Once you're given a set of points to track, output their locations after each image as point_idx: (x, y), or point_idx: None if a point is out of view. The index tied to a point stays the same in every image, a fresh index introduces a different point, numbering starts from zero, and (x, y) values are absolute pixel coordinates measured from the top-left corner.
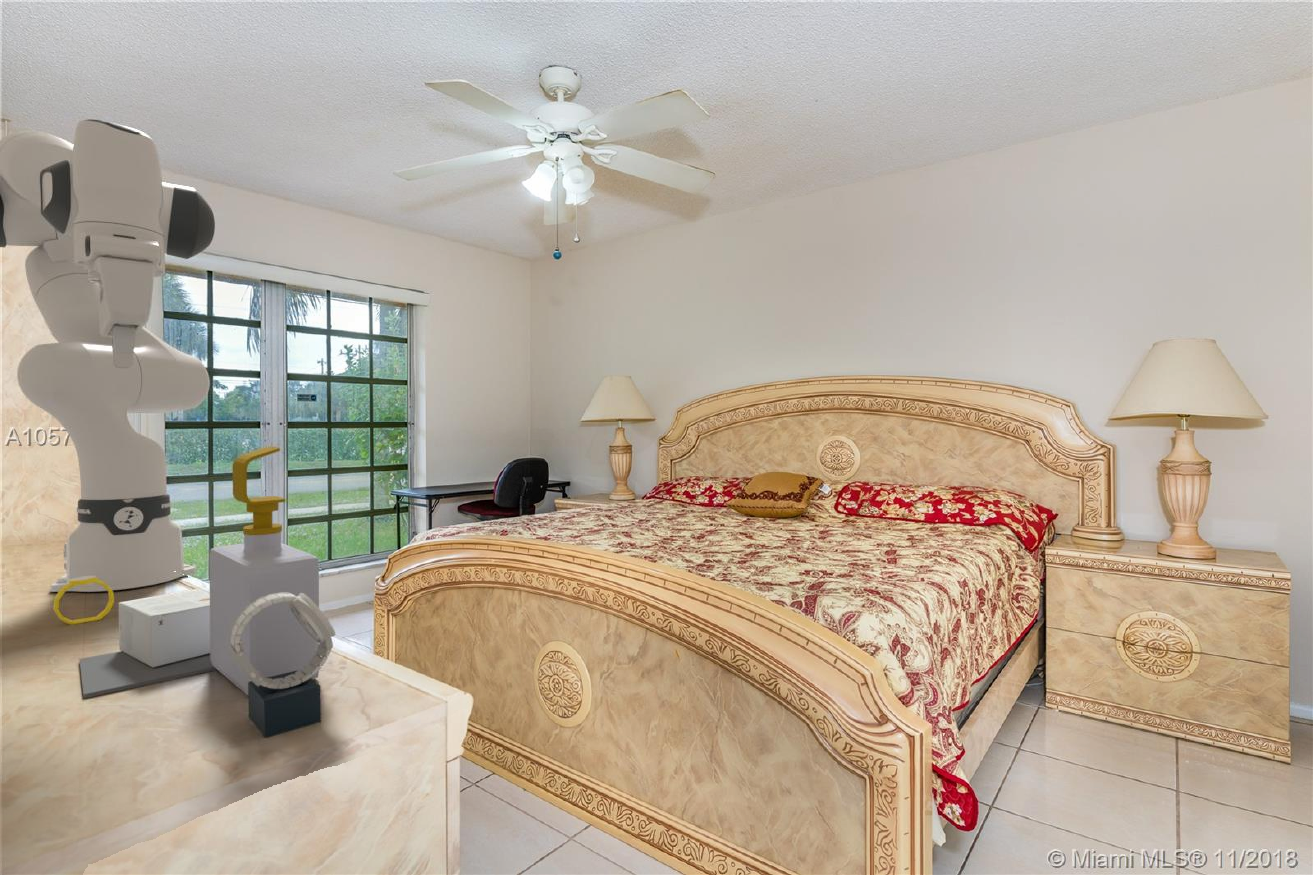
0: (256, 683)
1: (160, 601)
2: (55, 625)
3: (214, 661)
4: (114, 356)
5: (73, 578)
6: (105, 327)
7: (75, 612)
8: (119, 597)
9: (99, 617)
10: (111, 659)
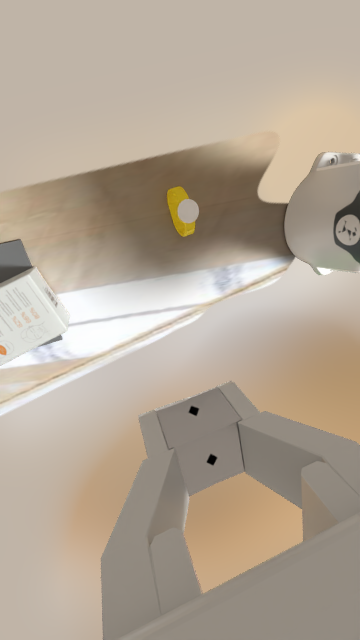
0: None
1: (11, 312)
2: None
3: None
4: (182, 427)
5: (192, 201)
6: (264, 568)
7: (217, 196)
8: (258, 223)
9: (174, 224)
10: (6, 265)
